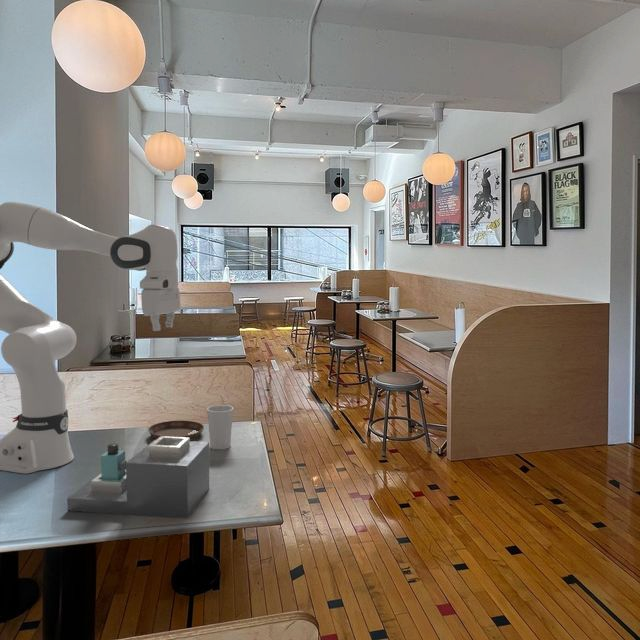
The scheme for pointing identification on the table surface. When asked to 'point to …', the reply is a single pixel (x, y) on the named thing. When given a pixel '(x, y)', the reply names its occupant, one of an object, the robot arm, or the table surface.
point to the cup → (220, 426)
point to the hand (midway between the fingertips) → (163, 328)
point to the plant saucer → (176, 429)
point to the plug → (113, 463)
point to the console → (152, 482)
